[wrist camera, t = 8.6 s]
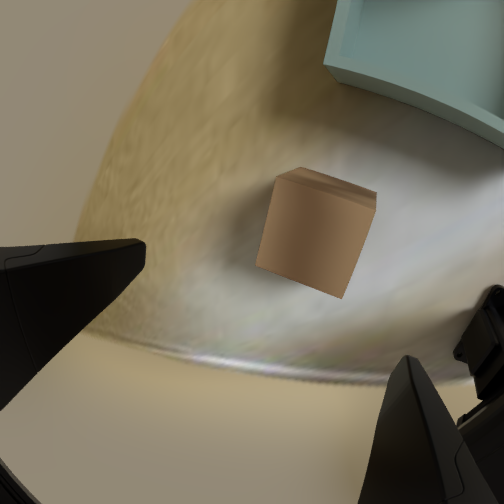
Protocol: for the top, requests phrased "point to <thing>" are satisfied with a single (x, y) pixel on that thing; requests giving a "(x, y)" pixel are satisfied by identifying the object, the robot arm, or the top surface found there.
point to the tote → (426, 57)
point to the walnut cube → (316, 229)
